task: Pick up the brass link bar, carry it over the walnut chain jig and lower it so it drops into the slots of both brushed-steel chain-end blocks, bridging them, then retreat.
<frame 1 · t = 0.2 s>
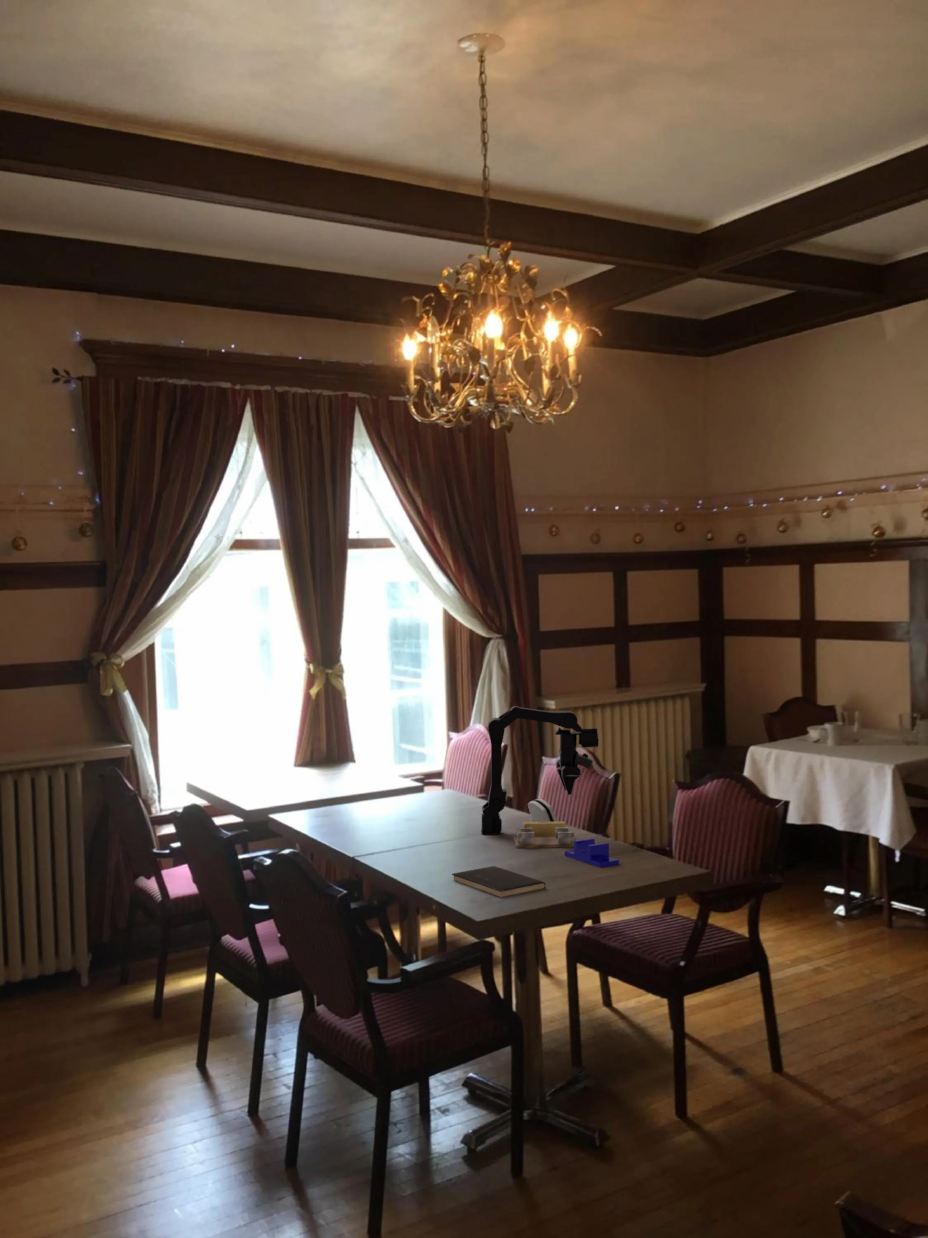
hand: (567, 792, 378), 14 cm above the table, fingers open, 9 cm apart
brass link: (544, 837, 372), on the table
hardcover book: (498, 886, 310), on the table
chain jig: (544, 843, 361), on the table
mounting bracket: (591, 862, 338), on the table
grey curved slab: (543, 824, 393), on the table
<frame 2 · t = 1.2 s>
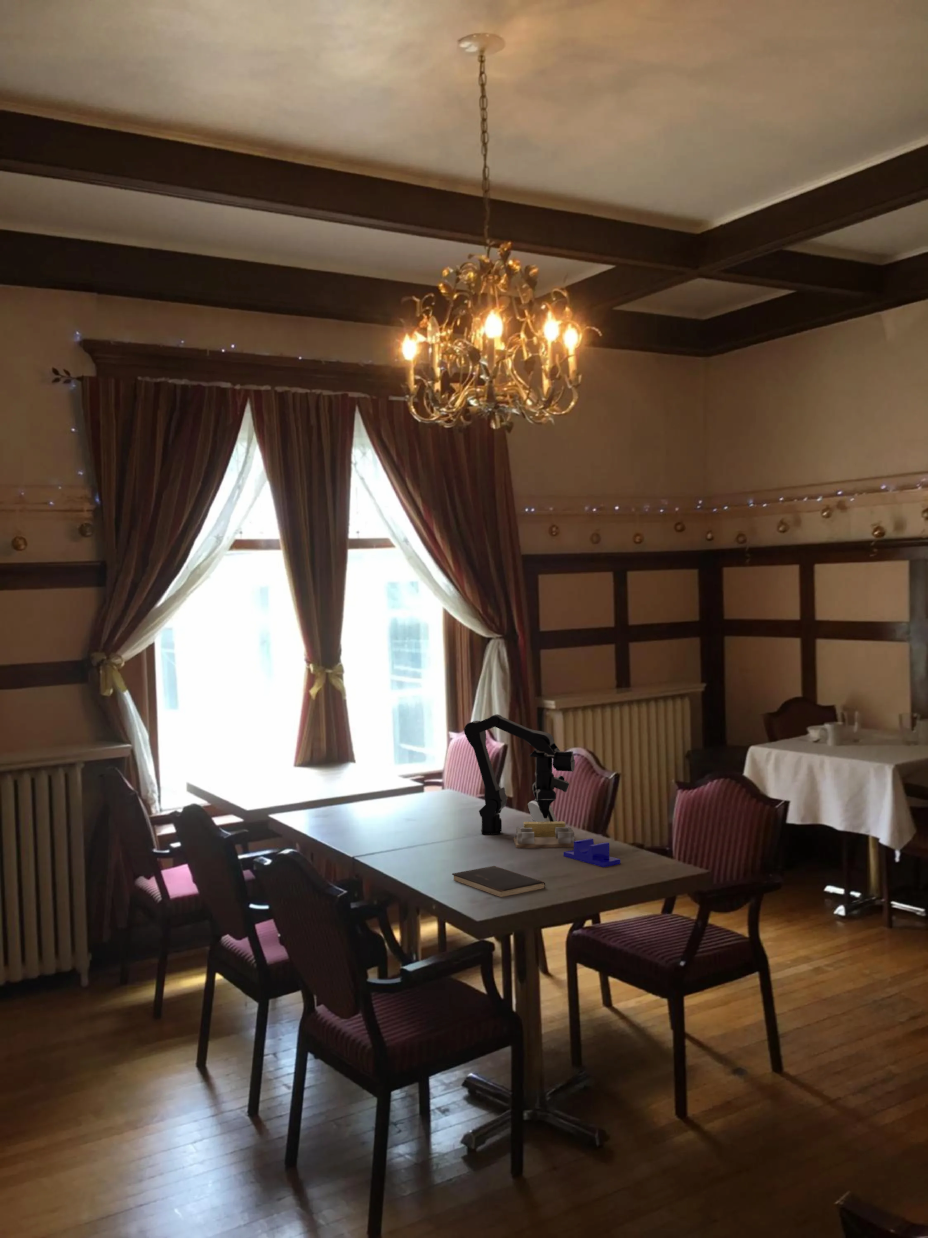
hand: (543, 815, 372), 7 cm above the table, fingers open, 9 cm apart
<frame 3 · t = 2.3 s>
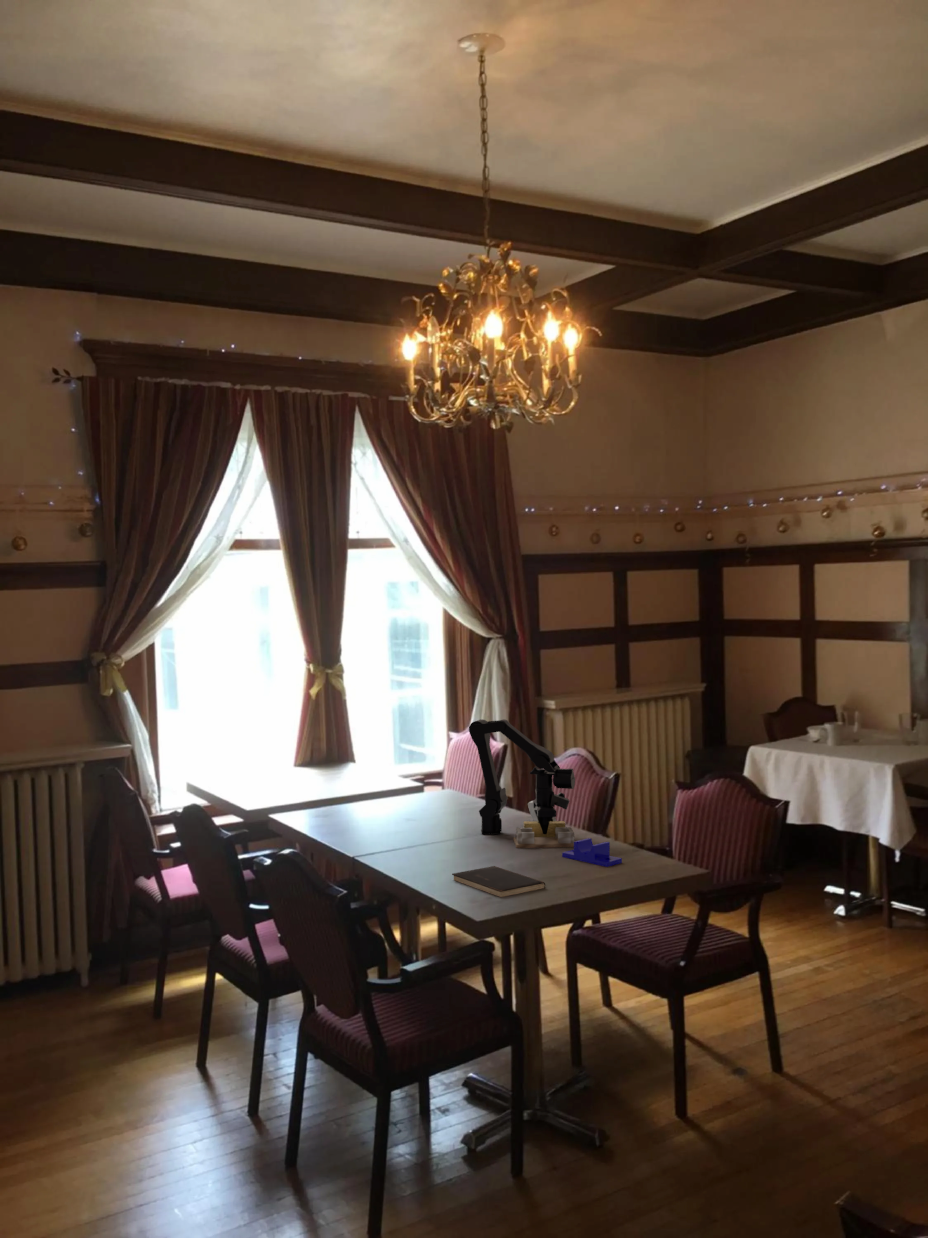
hand: (544, 833, 372), 1 cm above the table, fingers closed on brass link, 3 cm apart
brass link: (544, 837, 372), on the table, touching gripper
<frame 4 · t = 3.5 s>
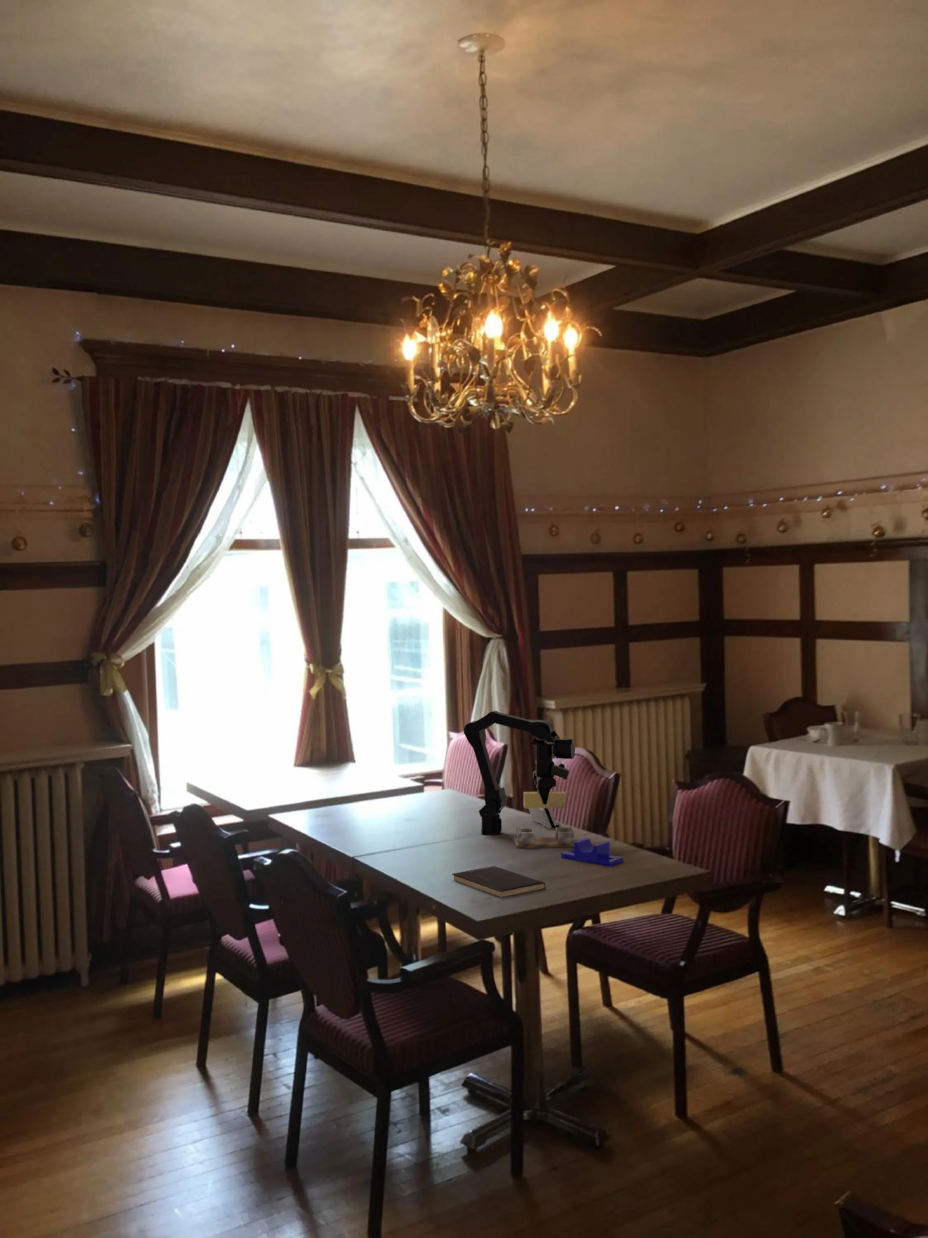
hand: (544, 803, 371), 11 cm above the table, fingers closed on brass link, 3 cm apart
brass link: (544, 807, 371), point 10 cm above the table, touching gripper
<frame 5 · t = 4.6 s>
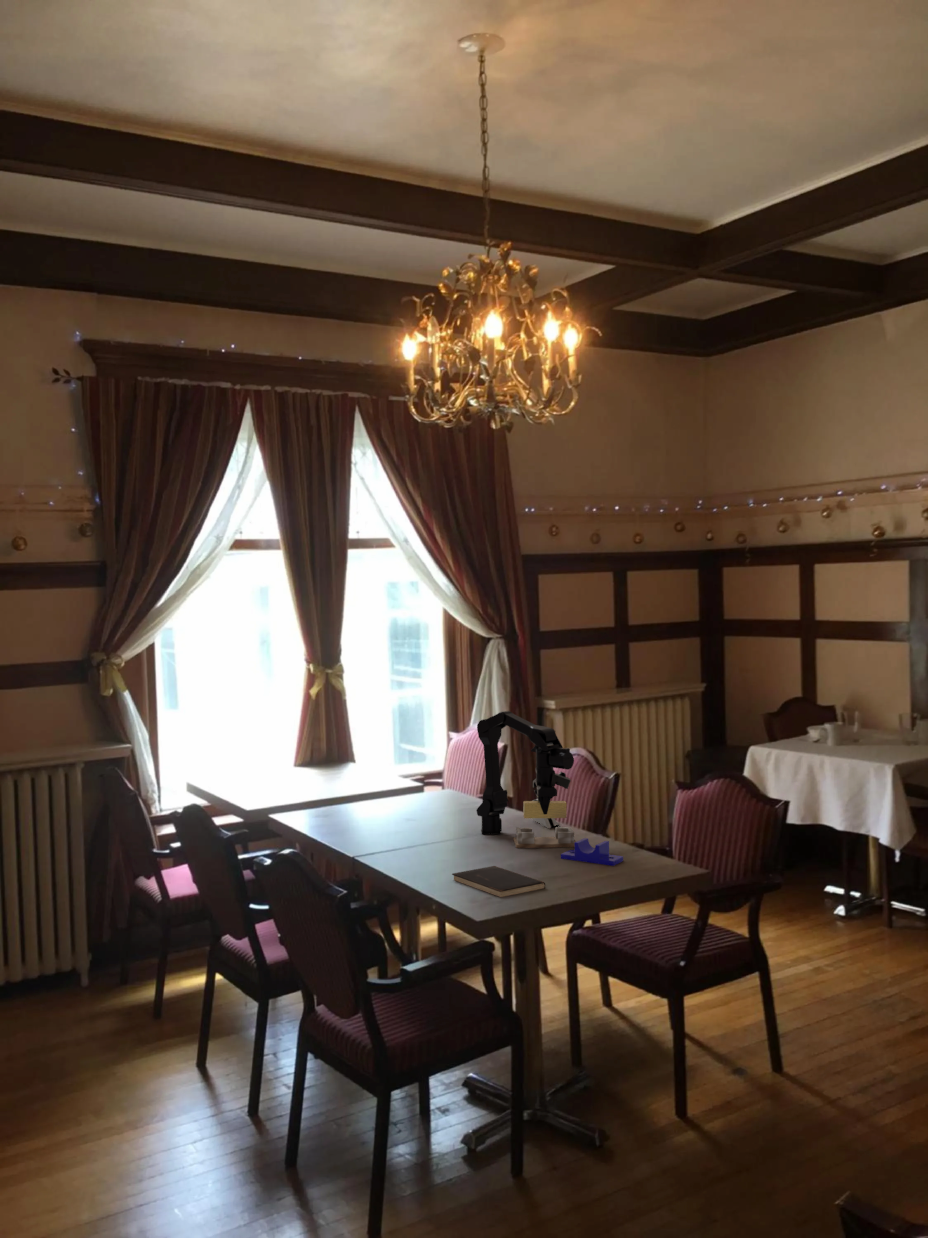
hand: (544, 813, 361), 10 cm above the table, fingers closed on brass link, 3 cm apart
brass link: (544, 817, 361), point 9 cm above the table, touching gripper
when the fingers open (3 cm above the table, at t = 6.4 s): brass link drops 1 cm, resting on chain jig.
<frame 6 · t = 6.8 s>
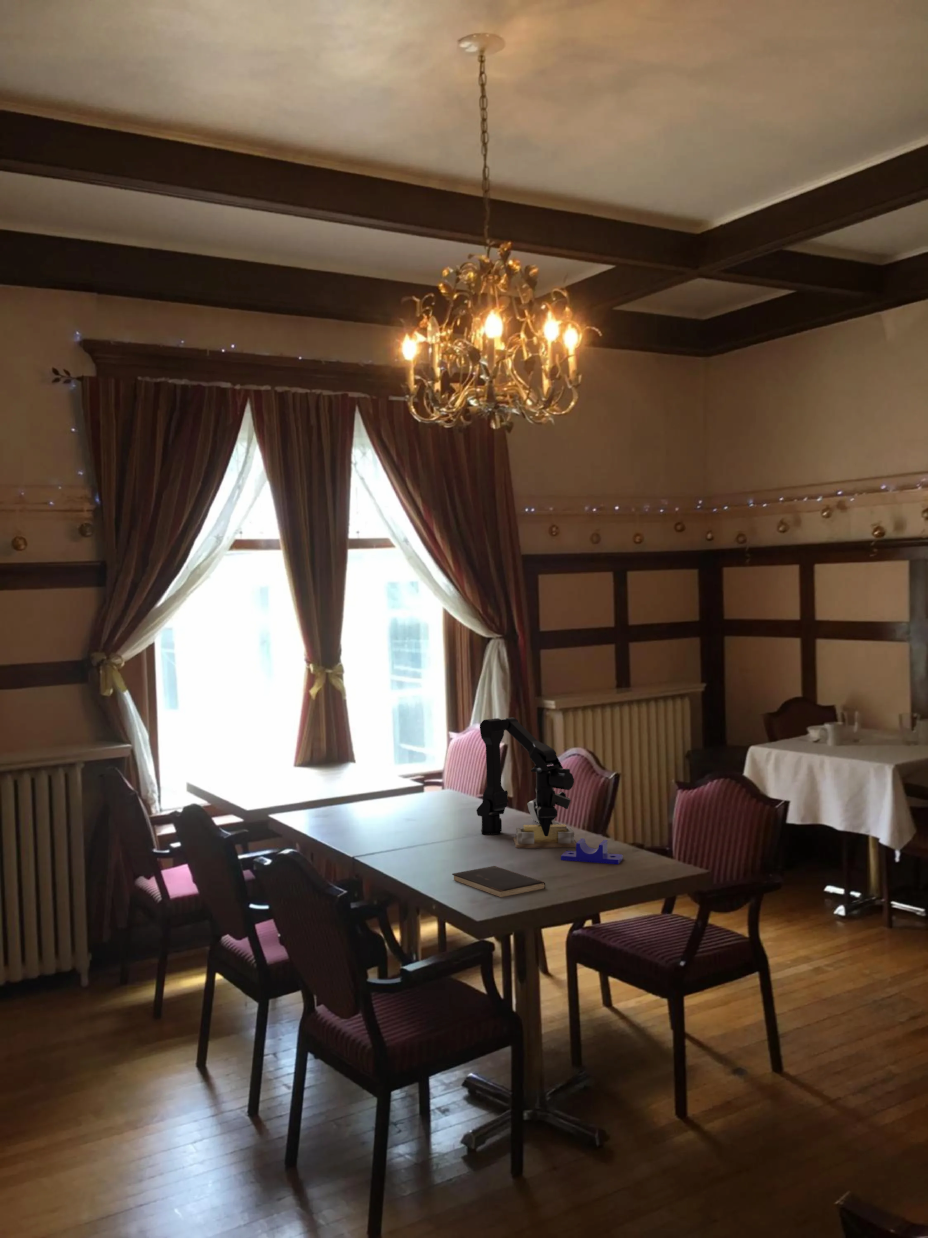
hand: (544, 833, 361), 3 cm above the table, fingers open, 8 cm apart
brass link: (545, 840, 361), point 1 cm above the table, touching chain jig
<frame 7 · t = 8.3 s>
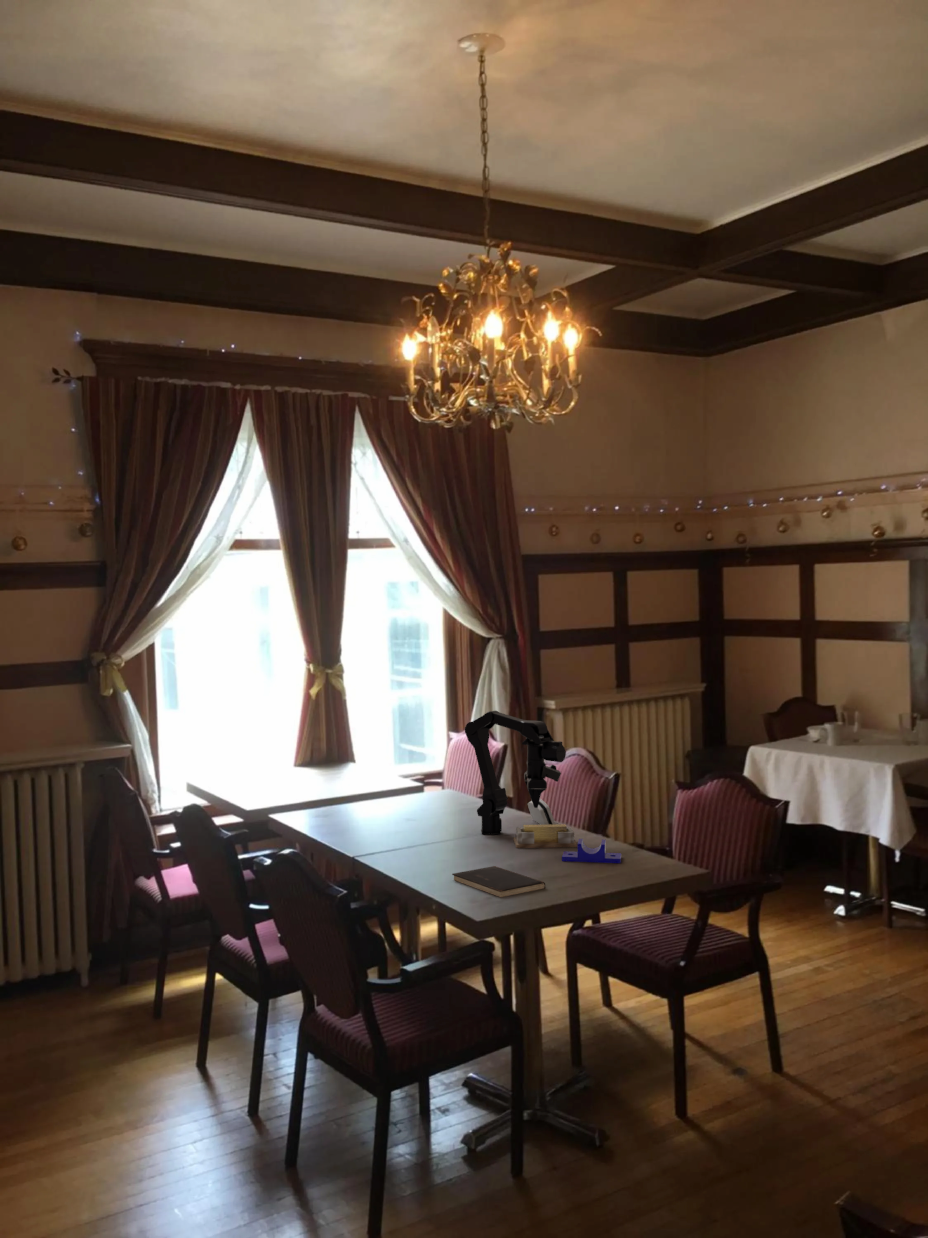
hand: (534, 805, 366), 12 cm above the table, fingers open, 9 cm apart
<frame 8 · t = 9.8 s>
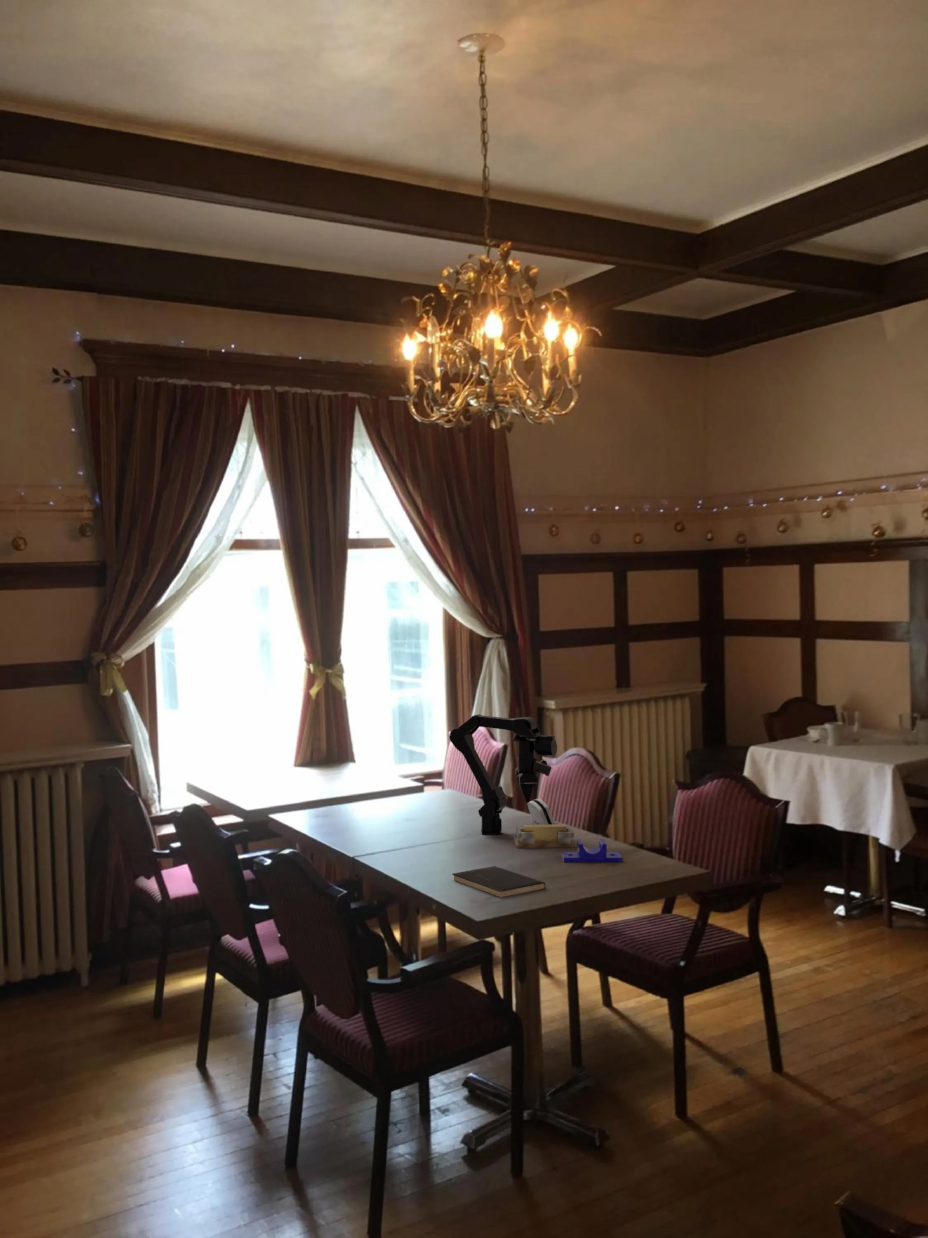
hand: (526, 799, 372), 13 cm above the table, fingers open, 9 cm apart
at the end: brass link 0.0 cm off-centre on the chain jig, point 1.0 cm above the chain jig's base; brass link tilted 0°; the gripper is holding nothing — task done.
